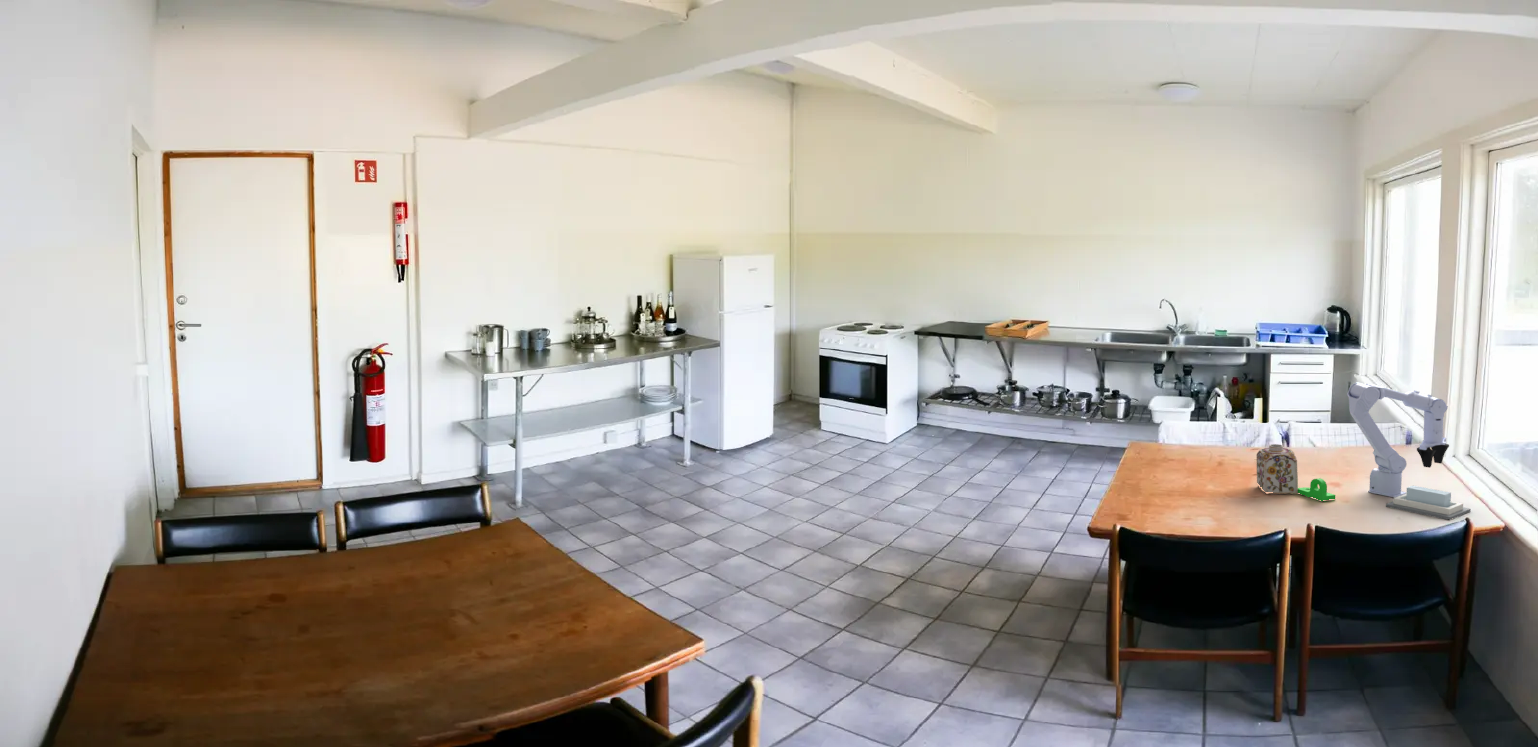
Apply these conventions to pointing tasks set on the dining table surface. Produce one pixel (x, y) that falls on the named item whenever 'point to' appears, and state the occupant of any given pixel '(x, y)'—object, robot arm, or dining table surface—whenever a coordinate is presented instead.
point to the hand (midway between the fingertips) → (1432, 465)
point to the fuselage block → (1429, 496)
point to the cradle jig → (1428, 508)
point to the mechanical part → (1317, 490)
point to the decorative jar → (1277, 469)
